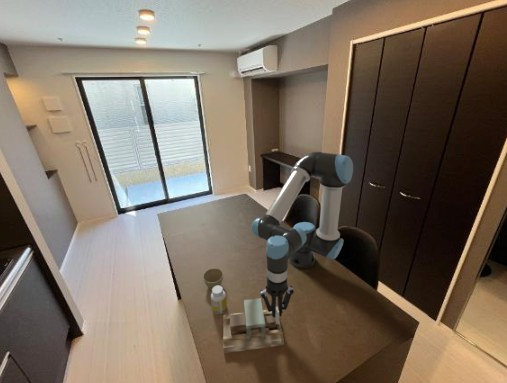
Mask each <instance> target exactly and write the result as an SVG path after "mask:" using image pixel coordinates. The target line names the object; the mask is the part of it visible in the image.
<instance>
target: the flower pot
mask: <svg viewBox="0 0 507 383" xmlns="http://www.w3.org/2000/svg"><path fill="white" fill-rule="evenodd" d="M202 279H203V282H204V284H205V285H206V287H207V288H209V289H210V290H212V289H213V287H215V286H217V285H219V286H221V284H222V282H223V279H224V271H222V270H221V269H220V268H210V269H207V270H205V272H204V273H203V275H202Z"/></svg>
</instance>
